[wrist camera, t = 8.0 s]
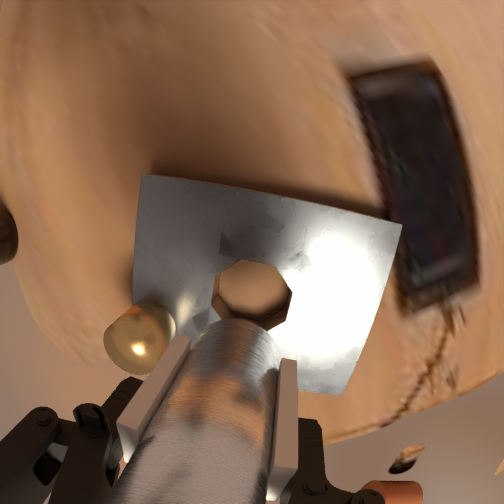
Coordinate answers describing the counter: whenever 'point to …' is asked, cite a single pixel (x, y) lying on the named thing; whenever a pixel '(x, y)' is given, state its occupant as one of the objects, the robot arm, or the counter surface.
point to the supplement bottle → (7, 238)
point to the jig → (258, 250)
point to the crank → (397, 491)
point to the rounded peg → (210, 425)
